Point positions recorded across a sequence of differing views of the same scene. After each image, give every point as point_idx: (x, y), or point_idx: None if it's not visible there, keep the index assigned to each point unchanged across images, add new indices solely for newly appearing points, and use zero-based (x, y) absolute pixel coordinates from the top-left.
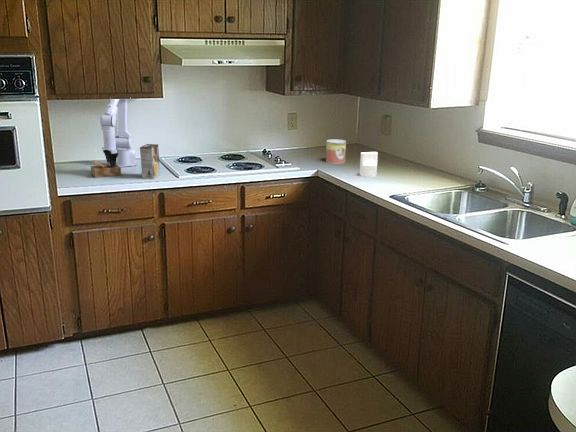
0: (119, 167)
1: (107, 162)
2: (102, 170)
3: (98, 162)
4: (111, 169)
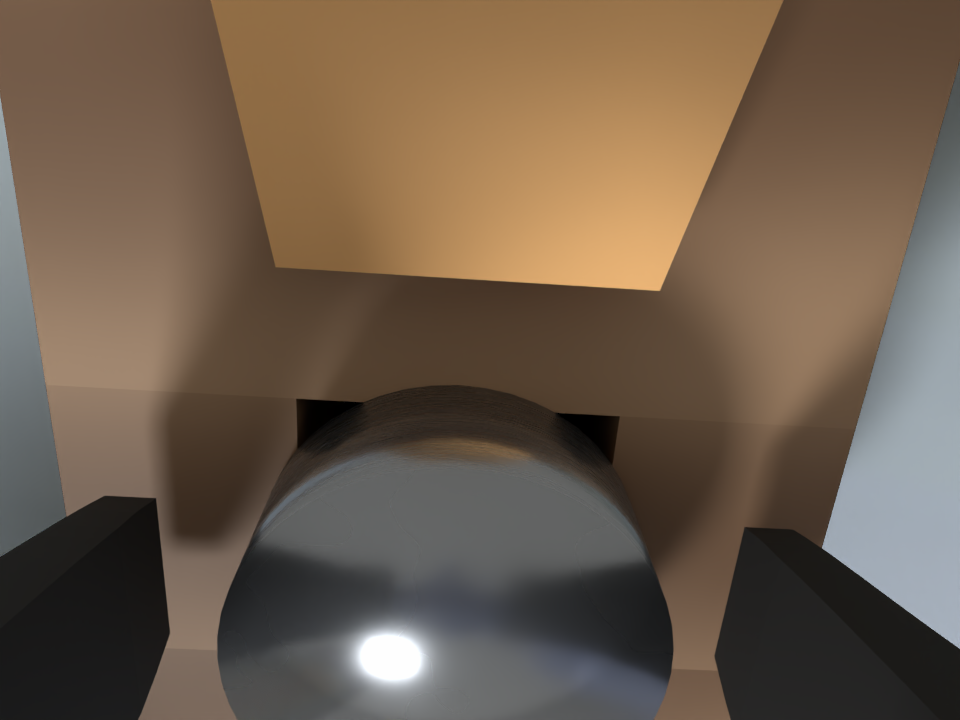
0: (148, 704)
1: (544, 524)
2: (27, 60)
3: (541, 27)
4: (75, 427)
